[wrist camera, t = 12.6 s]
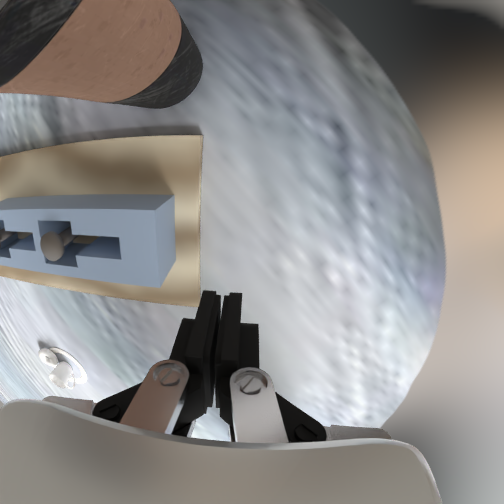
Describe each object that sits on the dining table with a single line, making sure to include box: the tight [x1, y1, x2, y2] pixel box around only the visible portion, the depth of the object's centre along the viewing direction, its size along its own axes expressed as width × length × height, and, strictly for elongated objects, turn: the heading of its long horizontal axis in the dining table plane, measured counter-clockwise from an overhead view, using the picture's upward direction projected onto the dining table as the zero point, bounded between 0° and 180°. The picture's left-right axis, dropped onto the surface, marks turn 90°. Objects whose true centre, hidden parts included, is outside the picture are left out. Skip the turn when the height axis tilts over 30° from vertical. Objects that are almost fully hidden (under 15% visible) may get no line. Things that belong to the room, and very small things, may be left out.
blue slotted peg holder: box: [0, 194, 176, 288], centre depth 21 cm, size 6×22×5 cm, turn 86°
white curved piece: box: [39, 348, 87, 389], centre depth 32 cm, size 9×8×4 cm
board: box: [0, 135, 203, 307], centre depth 21 cm, size 16×32×7 cm, turn 86°
